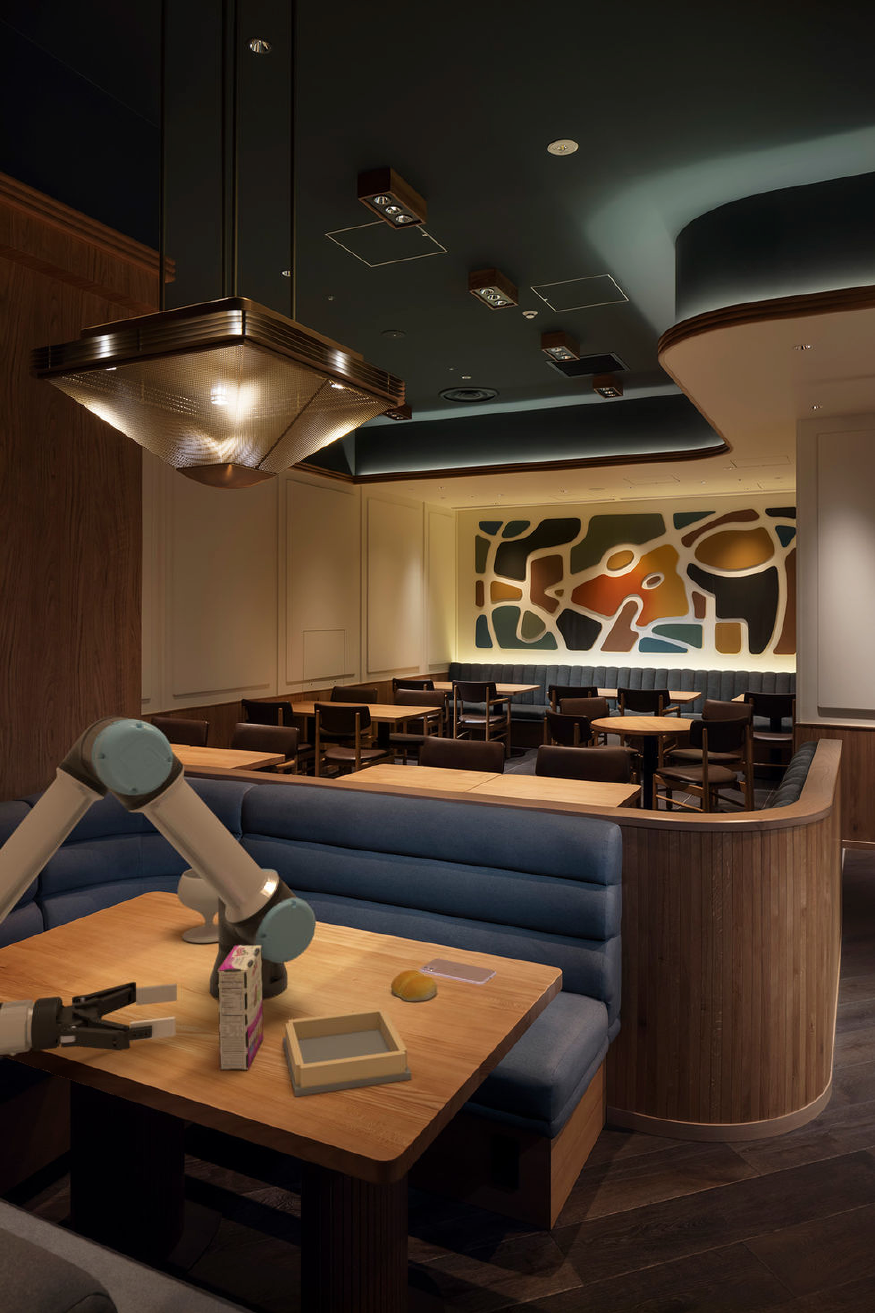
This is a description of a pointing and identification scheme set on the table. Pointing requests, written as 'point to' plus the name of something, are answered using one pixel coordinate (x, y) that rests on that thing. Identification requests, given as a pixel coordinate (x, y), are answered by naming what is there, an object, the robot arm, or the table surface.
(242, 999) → the candy bar box
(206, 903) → the chalice
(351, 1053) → the shallow square tray
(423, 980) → the bread roll
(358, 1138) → the table surface
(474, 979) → the mobile phone
